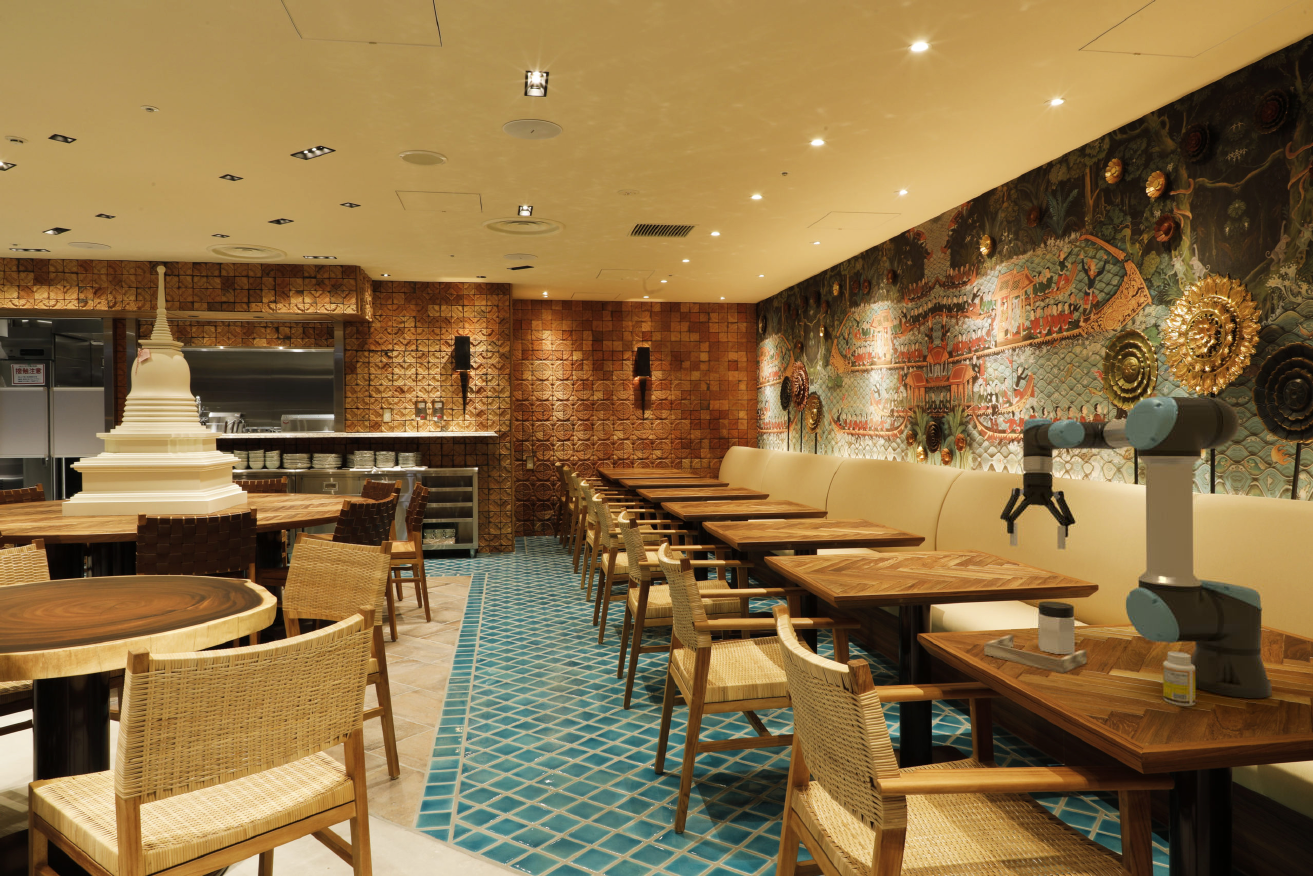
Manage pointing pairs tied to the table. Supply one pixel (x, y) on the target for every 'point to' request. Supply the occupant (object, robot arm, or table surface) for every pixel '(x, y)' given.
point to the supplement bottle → (1179, 679)
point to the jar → (1056, 627)
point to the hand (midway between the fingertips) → (1037, 547)
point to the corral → (1032, 656)
